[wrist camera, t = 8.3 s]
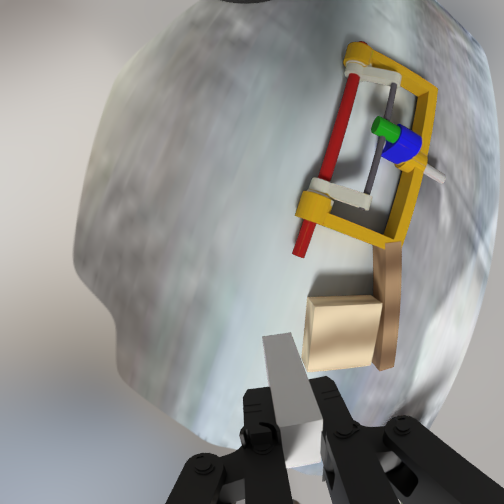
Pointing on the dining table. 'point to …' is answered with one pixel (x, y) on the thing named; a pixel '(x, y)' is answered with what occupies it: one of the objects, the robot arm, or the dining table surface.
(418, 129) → the mechanical clamp
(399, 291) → the board
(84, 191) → the dining table surface
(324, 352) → the block
